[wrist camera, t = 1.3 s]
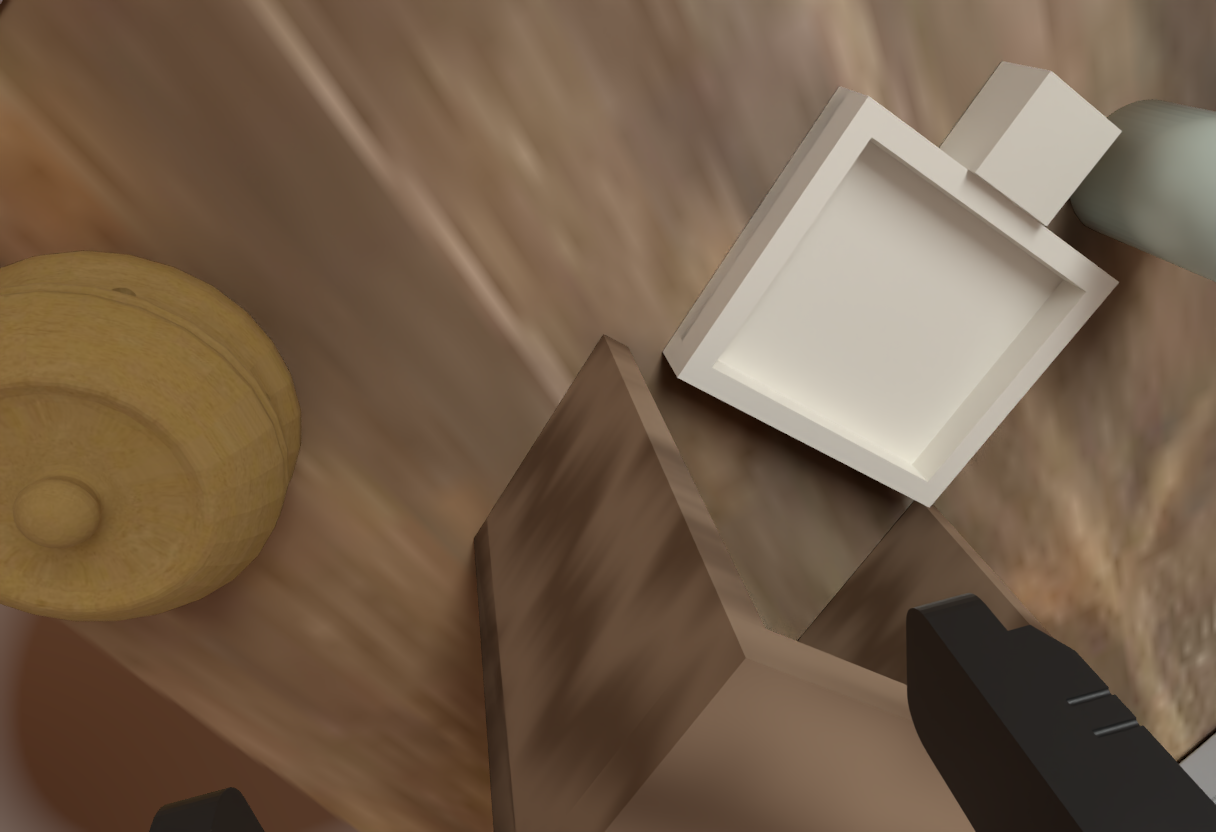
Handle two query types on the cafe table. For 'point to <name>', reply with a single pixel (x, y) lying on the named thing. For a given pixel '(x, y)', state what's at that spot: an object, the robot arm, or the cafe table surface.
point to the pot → (133, 437)
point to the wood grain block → (692, 649)
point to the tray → (905, 280)
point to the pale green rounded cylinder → (1157, 184)
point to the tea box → (1203, 767)
